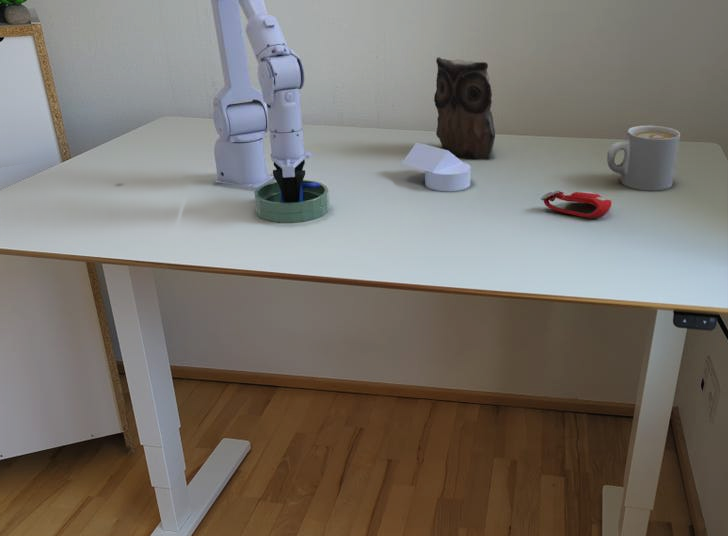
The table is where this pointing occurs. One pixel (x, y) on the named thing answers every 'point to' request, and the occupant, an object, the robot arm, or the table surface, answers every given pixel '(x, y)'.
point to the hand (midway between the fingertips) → (292, 203)
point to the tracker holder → (582, 198)
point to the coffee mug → (647, 157)
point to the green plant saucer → (291, 204)
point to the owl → (464, 108)
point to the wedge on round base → (439, 168)
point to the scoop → (303, 185)
